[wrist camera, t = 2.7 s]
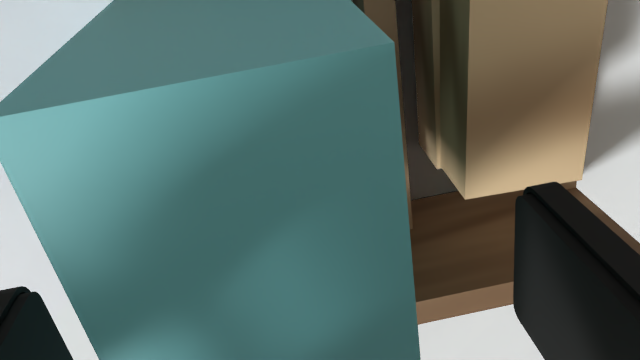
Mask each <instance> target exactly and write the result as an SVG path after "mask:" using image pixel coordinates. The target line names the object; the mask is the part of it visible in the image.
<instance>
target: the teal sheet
mask: <svg viewBox="0 0 640 360" xmlns="http://www.w3.org/2000/svg"><path fill="white" fill-rule="evenodd" d="M0 162H1V164H2V166H3V168H4V170H5V172H6V174H7V176H8V178H9V180H10V182H11V184H12V186H13V188H14V190H15V192H16V194H17V196H18V198H19V200H20V202H21V204H22V206H23V208H24V210H25V212H26V214H27V216H28V218H29V220H30V222H31V224H32V226H33V228H34V230H35V232H36V234H37V236H38V238H39V240H40V242H41V244H42V246H43V248H44V250H45V252H46V254H47V256H48V258H49V260H50V262H51V264H52V266H53V268H54V270H55V272H56V274H57V276H58V278H59V280H60V282H61V284H62V286H63V288H64V290H65V292H66V294H67V296H68V298H69V300H70V302H71V304H72V306H73V308H74V310H75V312H76V314H77V316H78V318H79V320H80V322H81V324H82V326H83V328H84V330H85V332H86V334H87V336H88V338H89V340H90V342H91V344H92V346H93V348H94V350H95V352H96V354H97V356H98V358H99V360H420V349H419V337H418V325H417V312H416V300H415V288H414V276H413V264H412V252H411V239H410V227H409V215H408V203H407V191H406V179H405V167H404V154H403V142H402V130H401V118H400V106H399V94H398V81H397V69H396V57H395V45H394V42H393V41H392V40H391V39H390V38H389V37H388V36H387V35H386V34H385V33H384V32H383V31H382V30H381V29H380V28H379V27H378V26H377V25H376V24H375V23H374V22H373V21H372V20H370V19H369V18H368V17H367V16H366V15H365V14H364V13H363V12H362V11H361V10H360V9H359V8H358V7H357V6H356V5H355V4H354V3H353V2H352V1H351V0H114V1H112V2H111V3H110V4H109V5H108V6H107V7H106V8H105V9H104V10H102V11H101V12H100V13H99V14H98V15H97V16H96V17H95V18H93V19H92V20H91V21H90V22H89V23H88V24H87V25H86V26H85V27H83V28H82V29H81V30H80V31H79V32H78V33H77V34H76V35H75V36H73V37H72V38H71V39H70V40H69V41H68V42H67V43H66V44H65V45H63V46H62V47H61V48H60V49H59V50H58V51H57V52H56V53H55V54H53V55H52V56H51V57H50V58H49V59H48V60H47V61H46V62H44V63H43V64H42V65H41V66H40V67H39V68H38V69H37V70H36V71H34V72H33V73H32V74H31V75H30V76H29V77H28V78H27V79H26V80H24V81H23V82H22V83H21V84H20V85H19V86H18V87H17V88H16V89H14V90H13V91H12V92H11V93H10V94H9V95H8V96H7V97H5V98H4V99H3V100H2V101H1V102H0Z"/></svg>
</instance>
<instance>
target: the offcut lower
mask: <svg viewBox="0 0 640 360" xmlns="http://www.w3.org/2000/svg"><path fill="white" fill-rule="evenodd" d="M412 15H413V35H414V54H415V74H416V94H417V114H418V134H419V145H420V146H421V148H422V149H423V150H424V152H425V153H426V155H427V156H428V157H429V159H430V160H431V162H432V163H433V164H434V166H435V167H436V168H437V169H441V168H442V167H441V166H440V0H412Z"/></svg>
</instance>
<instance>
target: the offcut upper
mask: <svg viewBox="0 0 640 360" xmlns="http://www.w3.org/2000/svg"><path fill="white" fill-rule="evenodd" d="M607 4H608V0H440V166H441V167H442V169H443V170H444V172H445V173H446V174H447V176H448V177H449V178H450V180H451V181H452V182H453V184H454V185H455V187H456V188H457V189H458V191H459V192H460V193H461V195H462V196H463V198H464V199H465V200H466V199H472V198H478V197H484V196H489V195H495V194H501V193H507V192H513V191H519V190H525V188H526V187H529V186H534V185H539V184H544V183H549V182H558V183H559V184H560V183H566V182H572V181H578V180H582V175H583V168H584V161H585V154H586V148H587V141H588V134H589V127H590V120H591V113H592V107H593V100H594V93H595V86H596V79H597V72H598V66H599V59H600V52H601V45H602V38H603V31H604V24H605V18H606V11H607Z"/></svg>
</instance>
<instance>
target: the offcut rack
mask: <svg viewBox="0 0 640 360" xmlns="http://www.w3.org/2000/svg"><path fill="white" fill-rule="evenodd" d="M353 3H354V4H355V5H356V6H357V7H358V8H359V9H360V10H361V11H362V12H363V13H364V14H365V15H366V16H367V17H368V18H369V19H370V20H372V21H373V22H374V23H375V24H376V25H377V26H378V27H379V28H380V29H381V30H382V31H383V32H384V33H385V34H386V35H387V36H388V37H389V38H390V39H391V40H392V41H393V42H394V45H395V57H396V69H397V81H398V94H399V106H400V118H401V130H402V142H403V154H404V167H405V179H406V191H407V203H408V215H409V227H410V239H411V252H412V264H413V276H414V288H415V300H416V312H417V325H418V324H423V323H427V322H432V321H437V320H441V319H446V318H451V317H455V316H460V315H465V314H469V313H474V312H478V311H483V310H488V309H492V308H497V307H502V306H506V305H511V304H513V284H514V240H515V202H516V198H517V197H518V196H521V195H523V192H524V190H519V191H513V192H507V193H501V194H495V195H489V196H484V197H478V198H472V199H466V200H465V199H464V198H463V196H462V195H461V193H460V192H459V191H456V192H451V193H446V194H441V195H436V196H431V197H426V198H421V199H417V200H412V201H411V197H410V184H409V171H408V158H407V146H406V133H405V120H404V107H403V95H402V82H401V69H400V56H399V44H398V31H397V18H396V5H395V0H353ZM576 182H577V181H572V182H566V183H560V184H561V185H562V186H563V187H564V188H565V189H566V190H568V191H569V192H570V193H571V194H572V195H573V196H574V197H575V198H576V199H578V200H579V201H580V202H581V203H582V204H583V205H584V206H585V207H587V208H588V209H589V210H590V211H591V212H592V213H593V214H594V215H595V216H597V217H598V218H599V219H600V220H601V221H602V222H603V223H604V224H606V225H607V226H608V227H609V228H610V229H611V230H612V231H613V232H614V233H616V234H617V235H618V236H619V237H620V238H621V239H622V240H623V241H625V242H626V243H627V244H628V245H629V246H630V247H631V248H632V249H634V250H635V251H636V252H637V253H638V254H639V255H640V243H639V242H638V241H636V240H635V239H634V238H633V237H632V236H631V235H630V234H628V233H627V232H626V231H625V230H624V229H623V228H622V227H620V226H619V225H618V224H617V223H616V222H615V221H614V220H612V219H611V218H610V217H609V216H608V215H607V214H606V213H604V212H603V211H602V210H601V209H600V208H599V207H598V206H596V205H595V204H594V203H593V202H592V201H591V200H589V199H588V198H587V197H586V196H585V195H584V194H583V193H581V192H580V191H579V190H578V189H577V188H576Z"/></svg>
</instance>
